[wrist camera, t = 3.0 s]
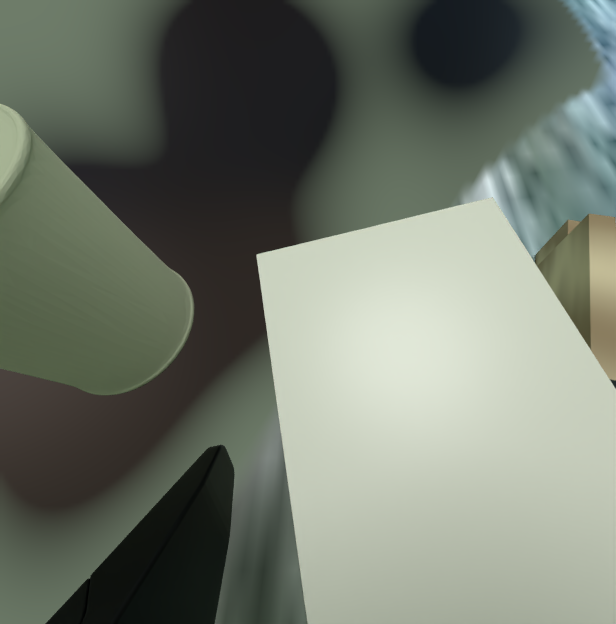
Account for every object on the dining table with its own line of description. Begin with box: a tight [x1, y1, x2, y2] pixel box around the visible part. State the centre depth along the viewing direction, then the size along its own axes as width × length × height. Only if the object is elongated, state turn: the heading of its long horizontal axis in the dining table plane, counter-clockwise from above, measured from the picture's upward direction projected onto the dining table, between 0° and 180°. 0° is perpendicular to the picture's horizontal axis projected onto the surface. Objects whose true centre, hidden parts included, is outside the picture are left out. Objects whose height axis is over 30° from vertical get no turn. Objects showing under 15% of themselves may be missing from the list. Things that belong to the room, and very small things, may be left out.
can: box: [0, 104, 194, 395], centre depth 15 cm, size 9×9×12 cm
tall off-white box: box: [257, 197, 616, 624], centre depth 9 cm, size 5×4×13 cm
